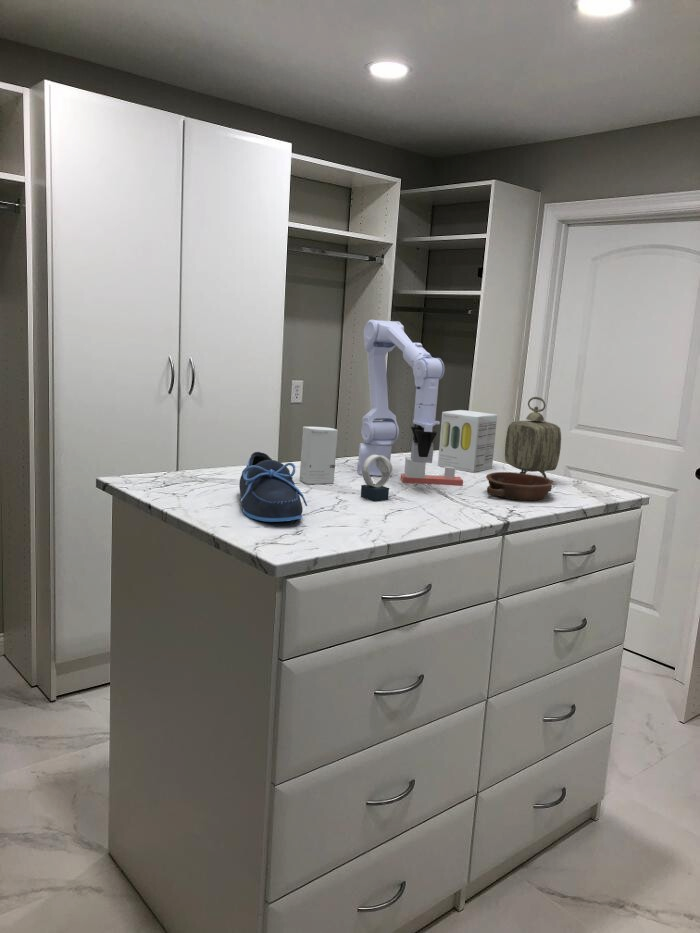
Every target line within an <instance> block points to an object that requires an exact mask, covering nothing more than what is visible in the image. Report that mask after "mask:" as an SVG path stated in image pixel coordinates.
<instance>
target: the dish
mask: <svg viewBox="0 0 700 933" xmlns="http://www.w3.org/2000/svg"><path fill="white" fill-rule="evenodd" d="M547 478H548V477H547ZM547 478H545V477H544V476H541V475H536V474H530V473H529V474H527V473H526V474H521V473H520V472H509V471H505V472H504V471H497V472H496V471H495V472H491V473H488V474H487V475H486V480H487V481H488V486H487V488H486V493H487V494H488V495H491V496H495V497H497V496H498V497H501V498H505V499H509V500H513V501H515V500H516V501H527V502H528V501H537V500H541V499H544V498H546V497H547V495H548V494H549V493H550V492H551V491H552V488H553V486H552V485H554V481H553V480H551V479H550V478H548V479H547ZM549 479H550V480H549Z"/></svg>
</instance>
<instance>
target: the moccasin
mask: <svg viewBox="0 0 700 933" xmlns="http://www.w3.org/2000/svg"><path fill="white" fill-rule="evenodd" d="M288 466H290V467H292V472H290V469H289V468H288ZM295 473H296V465H295V463H293V462H287V463H285V464H283V463H282V462H279V461H277V460H276V459H273V458H272V457H270V456H269V455H268V454H267V453H265V452H261V451H255V452H252V453H251V455H250V457H249V458H248V461H247V465H246V466H245V468H244V469H243V470H242V472H241V475H240V478H239V494H240V503H241V506H242V508H243V509H242V511H243V514H244V515H245V516H247V517H248V518H250V519H254V520H256V521H261V522H267V523H274V522H276V523H277V522H280V523H281V522H289V521H295V520H300V519H303V515H302V514H303V504H302V502H303V503H304V505H305V507H307V506H308V503H307V501H306V499H305V497H304V494H303V492H302V491H301V490H300V489H299V488H298V487H297V486H296V485H295V481H294V480H293V479H294V477H293V476H294V475H295ZM301 499H302V500H301Z"/></svg>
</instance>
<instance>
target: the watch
mask: <svg viewBox="0 0 700 933" xmlns="http://www.w3.org/2000/svg"><path fill="white" fill-rule="evenodd" d="M374 459H376V461H375V464H376V466H377V468H378V469H379V470H380V472H381V474H383V475H382V476H380V477H381V478H380V479H379V480H378V482H376V483H374V482H373V480H372V477H371V476H372V475H370V473H369V466H370V464H371V462H372V461H373V460H374ZM392 472H393V465H392V462H391V460H390V461H389V460H388V459H387V458H386V457H385V456H382V455H380V456H379V455H370V456H369V457H368V458H367V459H366V460H365V462H364V464H363V467H362V475H361V476H362V478H363V481H364V483H365V484H361V489H360V498H362V499H365V500H367V501H371V502H375V503H377V502H385V501H389V492H390V487H387V486H385V485H386V484H387V483H388V481H389V479H390V477H392V476H391V473H392Z"/></svg>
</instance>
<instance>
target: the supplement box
mask: <svg viewBox="0 0 700 933" xmlns="http://www.w3.org/2000/svg"><path fill="white" fill-rule="evenodd" d="M440 424H441V425H440V435H439V448H438V459H437V467H441V468H445V467H454V468H455V471H456V470H457V471H463V472H468V473H477V472H481V471H486V470H491V469H493V463H494V453H495V451H494V450H495V443H496V432H497V431H496V430H497V424H498V414H497V413H496V414H495V413H489V412H480V411H473V410H466V409H465V410H464V409H457V410H448V411H446V410H445V411H442V413H441V421H440Z"/></svg>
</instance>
